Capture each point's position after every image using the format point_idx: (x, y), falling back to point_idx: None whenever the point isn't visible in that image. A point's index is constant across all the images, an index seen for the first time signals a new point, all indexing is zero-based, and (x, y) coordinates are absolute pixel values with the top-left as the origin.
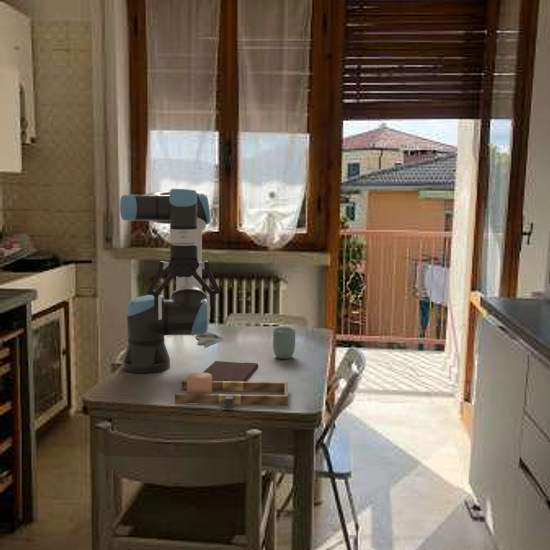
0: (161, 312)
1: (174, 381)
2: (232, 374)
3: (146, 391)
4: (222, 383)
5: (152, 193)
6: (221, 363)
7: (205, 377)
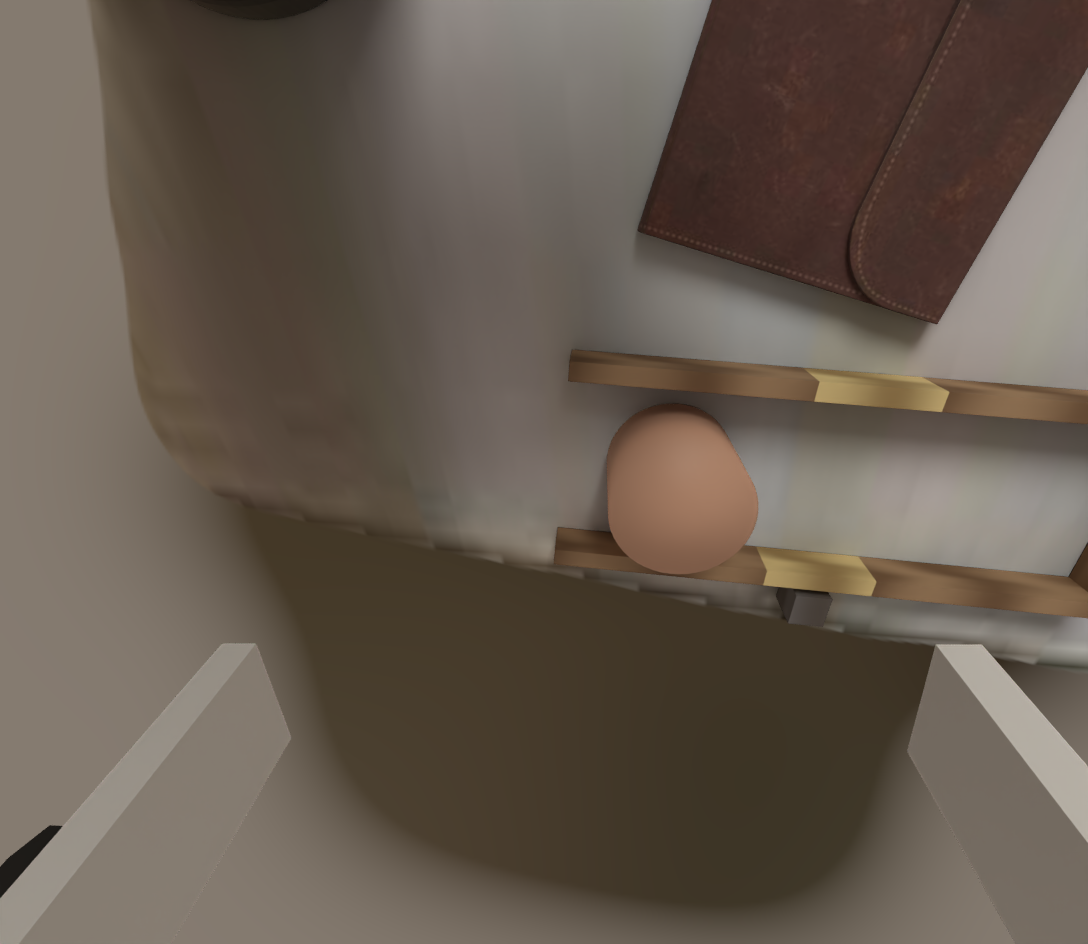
0: (223, 764)
1: (513, 207)
2: (923, 150)
3: (393, 381)
4: (811, 399)
5: None
6: None
7: (716, 538)
